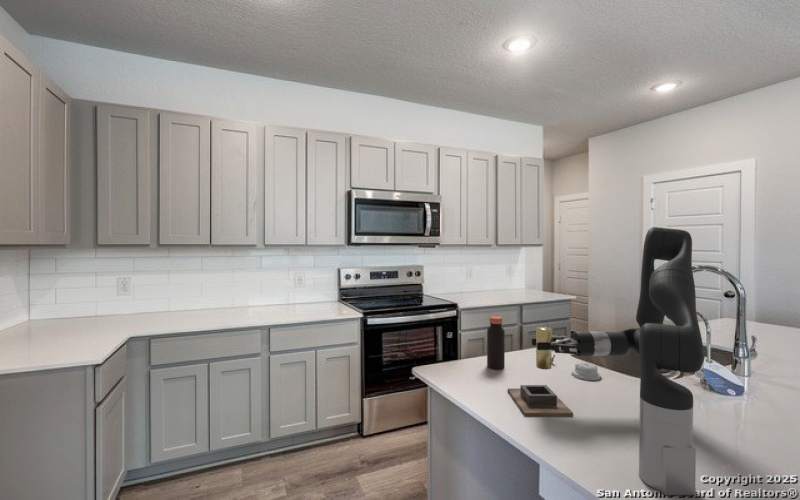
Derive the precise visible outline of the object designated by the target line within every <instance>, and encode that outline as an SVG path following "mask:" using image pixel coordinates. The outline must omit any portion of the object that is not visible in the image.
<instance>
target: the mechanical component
mask: <svg viewBox="0 0 800 500" xmlns="http://www.w3.org/2000/svg"><path fill="white" fill-rule="evenodd" d="M571 375H572V376H573V377H575V378H577V379H580V380H584V381H598V380H600V379H602V374H601V373H600V372H599V371H598V365H596V364H594V363H590V362H587V361H586V362H585V361H583V362H582V361H581V362H576V363H575V365H574V368H573V369H572V370H571Z"/></svg>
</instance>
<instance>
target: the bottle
mask: <svg viewBox="0 0 800 500" xmlns="http://www.w3.org/2000/svg"><path fill="white" fill-rule="evenodd" d="M489 325H490V326H489V327H488V328H487V330H486V332H487V333H486V336H487V337H486V351H487V352H486V366H487V367H488V369H493V370H502V369H504V368H505V362H506V361H505V354H506V353H505V342H506V340H505V337H506V334H505V332H506V331H505V329H504V328H503V327H502V325H503V317H502V316H498V315H497V316H495V315H493V316H489Z"/></svg>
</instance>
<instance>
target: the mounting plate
mask: <svg viewBox="0 0 800 500" xmlns="http://www.w3.org/2000/svg"><path fill="white" fill-rule="evenodd" d="M507 393H508V394H509V395H510V396H509V397H511V398H512V400H513V402H514V403H515V404H516V406H517V407H518V408H519V411H521V412H522V414H523V416H524V417H573V416H574V412H573V411H572V410H571V409H570V407H568V405H566V404H565V403H564V402H563V400H561V399H560V398H559V397H558V395H557V394H556V393H555V392H554V391H553V390H552V389H551V388H550V387H549V386H548V385H547V384H544V385H543V384H532V385H531V384H526V385H525V384H520V388H507Z"/></svg>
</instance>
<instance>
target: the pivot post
mask: <svg viewBox="0 0 800 500" xmlns="http://www.w3.org/2000/svg"><path fill="white" fill-rule="evenodd" d="M535 329H536V330H535V331H536V333H535V336H536V337H535V338H536V349H535V350H536V351H535V353H536V354H535V356H536V357H535V364H536V366H535V367H536V368H538V369H540V370H551V369H552V363H551V358H552V351H550V350H538V349H537V343H538V342H549V343H550V342H551V335H552V328H550V327H544V326H538V327H536V328H535Z"/></svg>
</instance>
